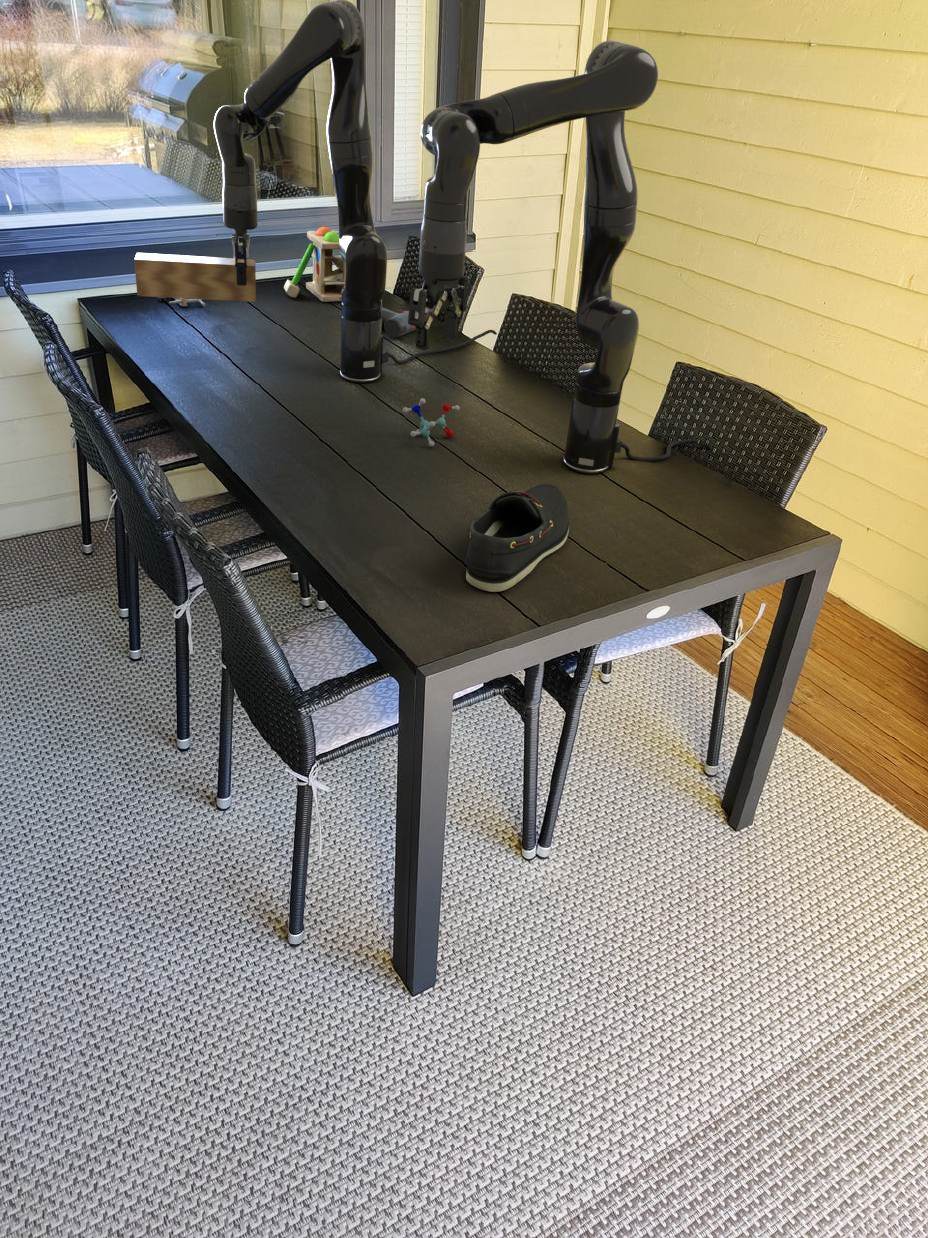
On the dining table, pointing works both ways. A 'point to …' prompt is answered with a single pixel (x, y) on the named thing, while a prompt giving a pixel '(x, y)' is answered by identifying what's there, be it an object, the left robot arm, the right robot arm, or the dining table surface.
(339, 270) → the pounding bench toy
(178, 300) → the clamp
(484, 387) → the dining table surface
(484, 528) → the boat shoe
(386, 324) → the power drill
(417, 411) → the molecular model
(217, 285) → the bar
